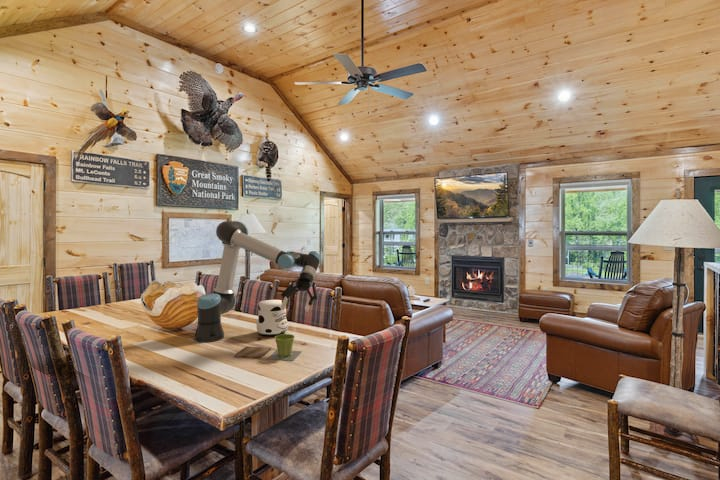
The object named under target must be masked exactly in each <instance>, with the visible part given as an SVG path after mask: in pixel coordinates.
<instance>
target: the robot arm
mask: <svg viewBox="0 0 720 480" xmlns="http://www.w3.org/2000/svg"><path fill="white" fill-rule="evenodd" d="M215 233H216V237H217V238H218V240H220V241H221V244H222V245H223V251H222V255H221V256H222V257H221V263H220V268H219V274H218V280H217V284H216V285H217V286H216V287H214V288H213V292H212V293H208V294H202V295H200V296H199V297H198V299H197V305H196V306H197V327H196V330H195V332H194V336H193V337H194V338H193V339H194V341H195V342H198V343H210V342H216V341H219V340H222V339H224V338H225V332H224V329H223V327H222V322H221V321H222V320H221V319H222V318H221V317H222V316H221V315H223V314H226V313H230V311H231V310H233V309H234V307H235V306H236V303H237V298H236V296H235V290H234V288H233V286H234V280H235V275H236V271H237V270H236V269H237V264H238V259H239V254H240V250H241V249H243V250H245V251H247V252H250V253H252V254H255V255H256V256H259V257H261V258H263V259H265V260H267V261H269V262H273V263H274V264H276V265H278V266H279V268H281V269H284V270H287V269H291V268H294V267H300V268H302V269H301V272H300V274H299V277H298V279H297V282H294V281H291V283H290V285H288V286H287V287H286V289H284V290H283V291H282V293H281V294H280V296H281V297H282V299H281V300H282V305H281V309H282V310H284V308H285V306H286V307H287V304H288V300H289V298H290V297H291V296H293V295H294V294H296V293H298V292H307V294H308V296H309V297H308V299H307V301H306V304H305V306H304V310H305V312H306V313H308V312H309V309H310V306H312V305H313V302H314V300H315V301H317V300H318V293H317V284H316V282H315V281H314V278H315V276H316V273H317V270H318V268H319V265H320V263H321V259H322V256H321V253H319V252H318V251H315V250H312V251H311V250H310V251H309V252H308V254H307V253H302V252H296V251H292V250H287V251H284V250H282V249H279V248H277V247H275V246H273V245H271V244H269V243H266V242H265V241H262V240H259V239H258V238H256V237H253V236H251V235H249V229H248V227H247V225H246V224H244V223H243V222H241V221H238V220H230V221H229V220H225V221H222V222H220V223H219V224H218V225H217V227H216V230H215ZM310 288H312V293H311V291H310ZM312 294H313V295H312Z"/></svg>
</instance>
